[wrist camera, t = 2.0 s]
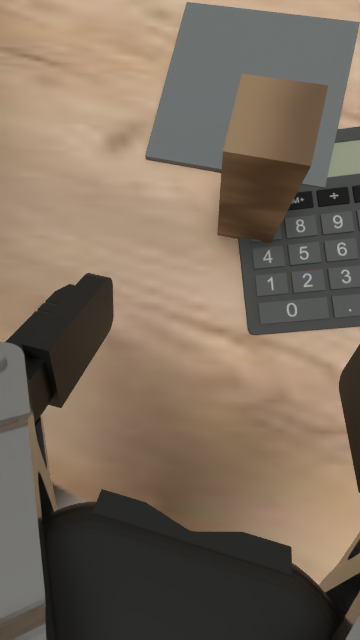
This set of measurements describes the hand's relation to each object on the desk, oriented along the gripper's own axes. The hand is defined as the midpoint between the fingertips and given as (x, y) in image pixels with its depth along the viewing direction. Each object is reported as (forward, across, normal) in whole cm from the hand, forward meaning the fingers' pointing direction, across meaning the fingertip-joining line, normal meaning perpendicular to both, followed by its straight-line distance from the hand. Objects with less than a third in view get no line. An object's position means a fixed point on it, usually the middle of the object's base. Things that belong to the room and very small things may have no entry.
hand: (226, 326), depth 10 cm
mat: (+24, +2, -5) cm, 24 cm away
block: (+17, 0, +2) cm, 17 cm away
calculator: (+17, -5, +3) cm, 18 cm away
